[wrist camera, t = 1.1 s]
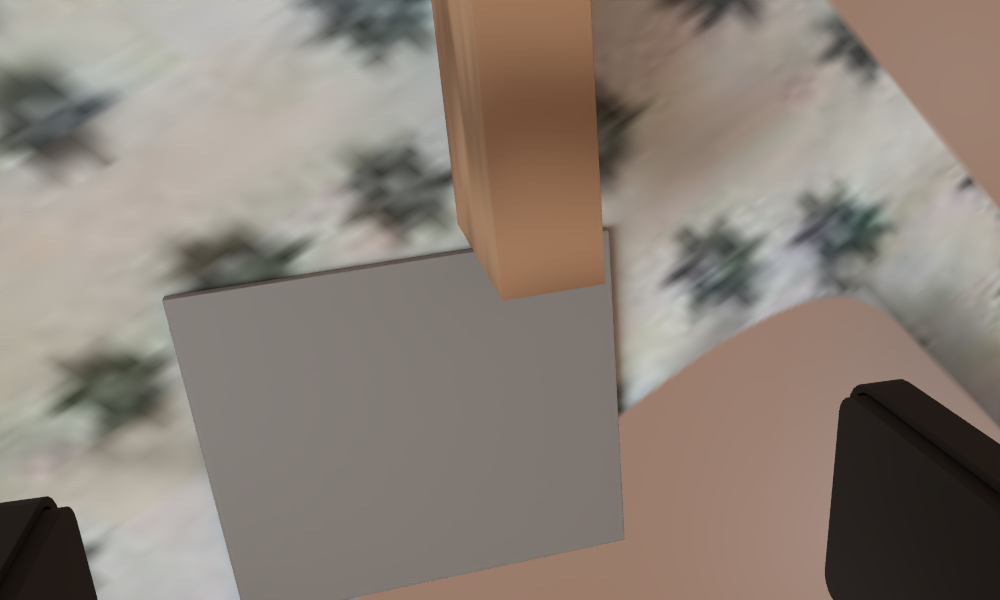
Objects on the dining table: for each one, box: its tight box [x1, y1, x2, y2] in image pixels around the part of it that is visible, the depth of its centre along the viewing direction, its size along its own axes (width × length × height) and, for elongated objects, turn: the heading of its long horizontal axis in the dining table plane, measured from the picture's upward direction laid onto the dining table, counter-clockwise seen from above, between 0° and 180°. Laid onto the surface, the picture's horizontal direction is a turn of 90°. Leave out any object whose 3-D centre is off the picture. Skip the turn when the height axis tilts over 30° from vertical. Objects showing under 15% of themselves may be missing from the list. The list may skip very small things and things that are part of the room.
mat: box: [162, 228, 624, 600], centre depth 34 cm, size 14×16×1 cm
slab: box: [431, 0, 605, 301], centre depth 26 cm, size 10×3×8 cm, turn 5°
